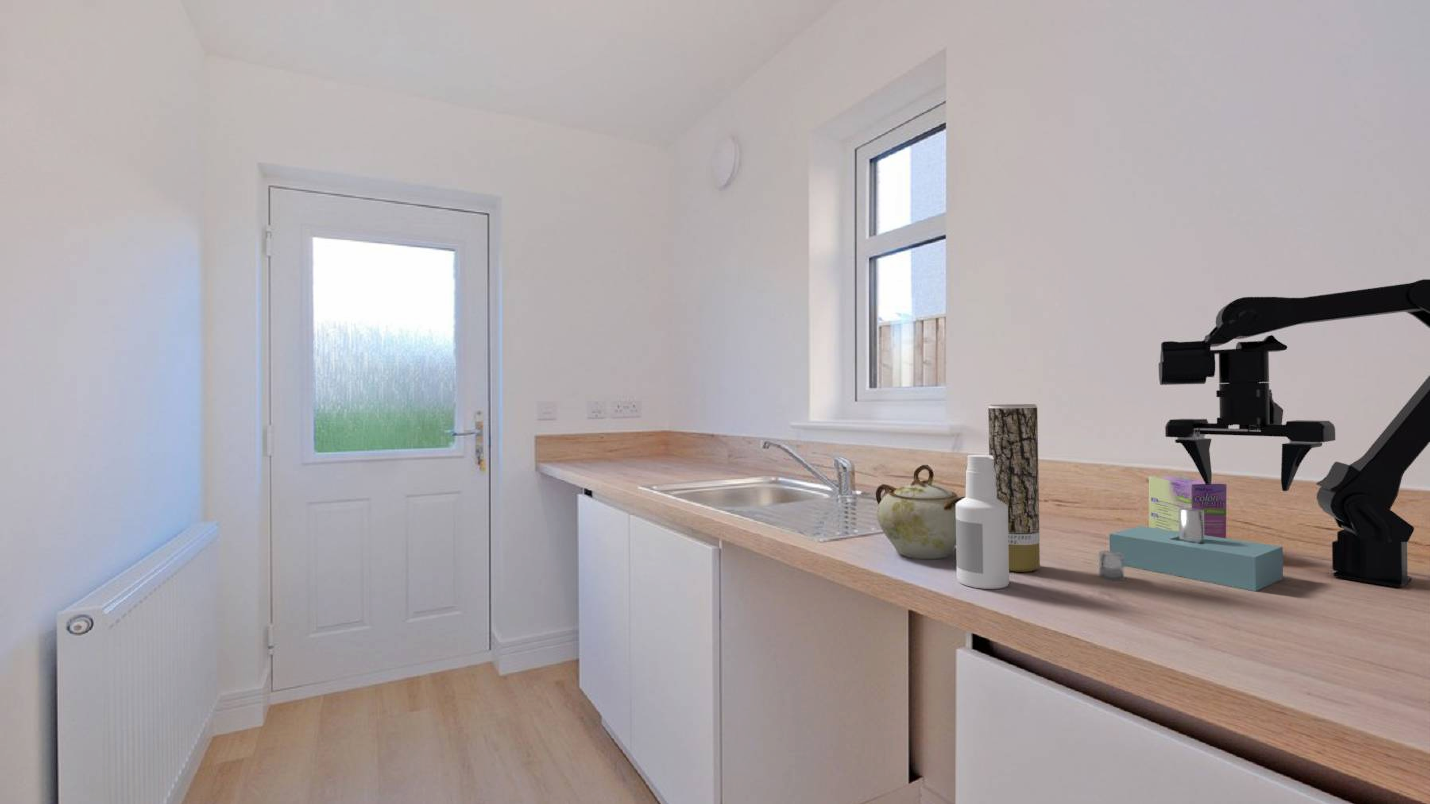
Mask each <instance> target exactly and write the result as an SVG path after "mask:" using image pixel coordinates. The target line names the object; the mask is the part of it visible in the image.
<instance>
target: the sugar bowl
mask: <svg viewBox="0 0 1430 804" xmlns="http://www.w3.org/2000/svg"><path fill="white" fill-rule="evenodd" d="M923 470H926V471H927V472H928V478H927V480H926V479H925V480H923V479H922V480H920V478H919V474H920V473H922V471H923ZM933 481H934V471H933V469H932V467H931V466H930V465H928V464H922V465H920V466H919V467H917V468H916V469H915V470H914V472H913V481H912V482H911V483H909V484H906V485H905V484H904V485H902V486H899V487H894V486H891V485H889V484H886V483H885V484H884V483H882V484H880V485H879V486H877V488H876V491H875V498H876V502H877V504H878V506H877V510H876V517H877V522H878V525H879V527H880V529H881V531H882V532H883V534H884V535H885V537H886V538H887V539H888V541H890V543H891V544H892V545H893V548H894V549H895V550H896V552H897V553H898V554H899V555H902V556H905V557H907V558H912V559H921V560H922V559H923V560H934V559H935V560H937V559H938V560H939V559H943V558H947V557H949V556H950V555H951V553H952V551H953V550H954V549H955V547H956V503H957V502H958V501H960V500H962V499H963V498H965V497H966V496H961V497H960V496H958V494H957V493H956V492H953V491H951V490H948V489H947V488H945V487H943V486H940V485H936V484H933ZM883 491H884V492H883ZM882 492H883V494H882Z"/></svg>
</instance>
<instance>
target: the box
mask: <svg viewBox="0 0 1430 804" xmlns="http://www.w3.org/2000/svg"><path fill="white" fill-rule="evenodd" d="M1179 508H1194V509H1201V510H1204V535H1206V536H1213V537H1220V538H1227V484H1226V483H1221V482H1217V481H1216V482H1214V481H1211V484H1209V485H1208V484H1205V482H1204V480H1203V479H1200V478H1199V479H1197V478H1192V477H1188V476H1182V475H1149V476H1148V527H1151V528H1158V529H1165V530H1172V531H1179Z"/></svg>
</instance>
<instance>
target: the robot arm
mask: <svg viewBox="0 0 1430 804" xmlns="http://www.w3.org/2000/svg"><path fill="white" fill-rule="evenodd" d="M1396 313H1398V314H1399V313H1407V314H1409V315H1411V316H1413V317H1414V318H1416V319H1417V320H1419V321H1420V322H1421V323H1422V324H1424V325H1425V326H1426V327H1427V328H1429V329H1430V279H1429V278H1427V279H1424V278H1423V279H1419V280H1416V281H1413V282H1409V283H1401V284H1394V285H1386V286H1385V285H1384V286H1379V287H1371V288H1364V289H1357V290H1349V291H1342V292H1335V293H1326V294H1320V295H1313V296H1306V297H1284V296H1245V297H1239V298H1237V299H1234V300H1233V301H1230V303H1227V304H1226V305H1225V306H1223V307H1222V308H1221V309H1220V310H1219V311H1218V313H1217V314H1216V316H1215V327H1214V328H1213V329H1212V330H1211V331H1210V332H1209V334H1207V335H1204V339H1203V340H1196V341H1195V340H1194V341H1173V340H1172V341H1171V340H1168V341H1163V342H1161V343H1160V357H1159V362H1158V380H1159V384H1160V385H1159V386H1167V385H1168V386H1169V385H1172V386H1173V385H1175V386H1176V385H1177V386H1178V385H1204V384H1206V381H1207V378H1214V377H1215V375H1216V355H1218V383H1219V384H1218V390H1215V391H1216V392H1215V393H1216V395H1215V396H1216V398H1218V399H1219V403H1218V404H1219V417H1216V423H1215V422H1214V423H1209V421H1208V419H1207V418H1175V419H1174V418H1173V419H1169V420H1168V421H1167V423H1166V424H1165V426H1164V427H1165V428H1164V429H1165V432H1164V433H1165V435H1164V436H1165V437H1166V438H1175V439H1174V442H1175V443H1176V444H1181V445H1182V446H1183V448H1184V449H1185V451H1186V452H1187V454H1188V455H1189V457H1190V458H1191V459H1192V461H1193V463H1194V465H1195V467H1196V469H1197V471H1198V472H1199V474H1200V476H1201V478H1202V480H1204V482H1205V484H1208V485H1209V484H1211V482H1212V474H1213V473H1212V472H1213V471H1212V464H1211V453H1210V447H1211V443H1212V438H1205V436H1206V435H1210V436H1211V435H1213V436H1218V435H1219V436H1220V435H1221V436H1241V437H1242V436H1244V437H1245V436H1246V437H1247V436H1249V437H1251V436H1252V437H1278V438H1279V437H1280V438H1281V437H1283V438H1287V439H1288V440H1289V442H1286V443H1282V444H1281V468H1280V469H1281V472H1280V483H1281V491H1282V492H1287V491H1290V488H1291V486H1292V483H1293V480H1294V479H1295V477H1296V473H1298V470H1299V468H1300V465H1301V463H1302V462H1303V460H1304V459H1305V457H1306V456H1307V454H1308V453H1309V452H1310V450H1311V451H1312V449H1314V448H1319V447H1322V446H1323V443H1327V442H1334V441H1336V427H1335V424H1334V423H1333V422H1331V421H1330V420H1310V419H1309V420H1303V419H1302V420H1300V419H1299V420H1297V419H1295V420H1287V421H1286V423H1285V424H1283V418H1284V417H1283V415H1284V409H1283V408H1282V407H1281V406H1280V405H1279V404H1278V403H1277V402H1276V401H1274V399H1273V392H1272V389H1270V356H1269V353H1270V352H1271V353H1273V352H1274V353H1275V352H1281V351H1286V350H1287V349H1288V346H1287V345H1286V344H1285V343H1283V342H1281V341H1279V340H1278V339H1277V338H1276V337H1275V336H1274V335H1273V334H1270V335H1267V336H1266V337H1265V338H1264V339H1262V340H1255V341H1253V340H1252V341H1238V342H1237V343H1236V345H1235V348H1229V349H1227V348H1226V349H1211V348H1215V347H1219V346H1220V347H1221V346H1222V345H1226V344H1227V343H1229V342H1231V341H1233V340H1243V339H1247V338H1252V337H1255V336H1258V335H1264V334H1266V333H1270V332H1274V331H1275V332H1276V331H1279V330H1282V329H1286V328H1289V327H1290V328H1291V327H1294V326H1298V325H1306V324H1312V323H1313V324H1314V323H1322V322H1329V321H1336V320H1337V321H1338V320H1340V321H1341V320H1347V319H1355V318H1364V317H1365V318H1366V317H1371V316H1379V315H1380V316H1382V315H1389V314H1396ZM1237 425H1238V428H1229V426H1230V427H1231V426H1237ZM1176 438H1177V439H1176ZM1429 444H1430V375H1428V376H1427V378H1426V379H1425V380H1424V381H1423V383H1422V384H1421V385H1420V387H1418V389H1417V390H1416V391H1415V392H1414V394H1413V395H1412V396H1411V397H1410V398H1409V400H1408V401H1407V402H1406V404H1405V405H1404V406H1403V407H1402V408H1401V409H1400V411H1399V412H1398V413H1397V414H1396V416H1395V417H1394V418H1393V419H1392V420H1391V422H1390V423H1389V424H1388V426H1386V428H1385V429H1384V430H1383V431H1382V432H1381V434H1380V435H1378V437H1377V439H1376V440H1375V441H1374V442H1373V444H1371V446H1370V447H1369V448H1368V450H1367V451H1366V452H1365V453H1364V454H1363V455H1362V456H1361V457H1360V458H1359V459H1357V460H1355V461H1354V462H1352V463H1350V464H1347V463H1343V462H1339V461H1335V462H1333V464H1332V465H1331V468H1330V470H1329V471H1328V473H1327V475H1326V476H1325V477H1324V478H1323V479H1321V480H1319V481H1317V482H1316V483H1315V484H1316V485H1317V486H1319V487H1320V488H1318V491H1317V492H1316V500H1317V502H1318V506H1319V507H1320V508H1321V510H1322V511H1323V512H1324V513H1326V514H1327V515H1328V516H1331V517H1332V518H1333V519H1334V520H1335V522H1336V525H1337V527H1338V528H1340V529H1341V530H1339V531H1337V532H1336V535H1337V537H1336V538H1337V539H1335V540H1334V541H1332V542H1331V552H1332V553H1331V554H1332V555H1331V556H1332V558H1331V559H1332V560H1331V561H1332V563H1331V564H1332V566H1331V567H1332V570H1333V577H1335V578H1340V579H1346V580H1353V581H1358V582H1362V583H1363V582H1364V583H1370V584H1376V585H1382V586H1388V587H1395V588H1402V587H1403V586H1405V585H1406V584H1408V583H1409V582H1411V581H1412V578H1413V577H1412V576H1411V575H1408V542H1409V540H1410V539H1411V536H1412V535H1413V533H1414V531H1415V527H1414V526H1413V525H1411V524H1410V523H1409V522H1408V521H1406V520H1404V519H1403V518H1402V517H1401V516H1399V515H1398V514H1397V513H1395V512H1394V511H1393V510H1392V507H1393V506H1394V503H1395V502H1396V500H1397V498H1398V495H1399V491H1400V487H1401V484H1402V480H1403V476H1404V474H1405V472H1406V471H1407V470H1408V469H1409V467H1410V466H1411V465H1412V464H1413V463H1414V462H1415V460H1416V459H1417V458H1418V457H1419V456H1420V455H1421V453H1422V452H1423V451H1424V450H1425V449H1426V447H1427V446H1428V445H1429Z"/></svg>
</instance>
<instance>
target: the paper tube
mask: <svg viewBox="0 0 1430 804" xmlns="http://www.w3.org/2000/svg"><path fill="white" fill-rule="evenodd" d="M987 408H988V409H987V410H988V411H987V412H988V417H987V418H988V455H992V456H993V458H994V468H995V471H996V487H997V499H999V500H1000V501H1002V502H1003V503H1005V504H1006V505H1007V506H1008V541H1009V572H1021V573H1026V572H1027V573H1028V572H1034V571H1036V570H1038V569H1039V568H1040V566H1041V563H1040V562H1041V560H1040V557H1041V556H1040V554H1041V553H1040V551H1041V550H1040V539H1041V538H1040V494H1039V493H1040V492H1039V491H1040V489H1039V488H1040V487H1039V486H1040V485H1039V484H1040V483H1039V482H1040V481H1039V479H1040V478H1039V431H1038V429H1039V428H1038V427H1039V426H1038V425H1039V424H1038V423H1039V421H1038V416H1039V415H1038V406H1037V404H1036V403H1034V404H1033V403H1031V404H1028V403H1027V404H1025V403H1020V404H1019V403H1017V404H1016V403H1013V404H1012V403H1011V404H989V405H988V407H987Z"/></svg>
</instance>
